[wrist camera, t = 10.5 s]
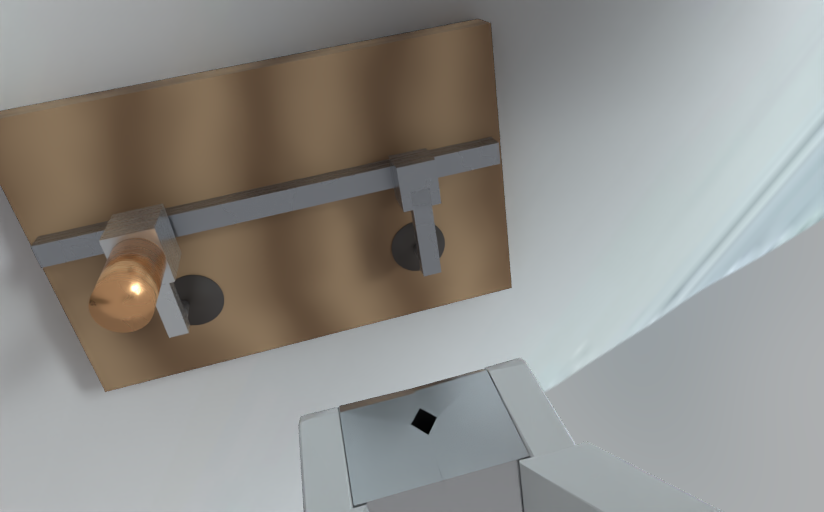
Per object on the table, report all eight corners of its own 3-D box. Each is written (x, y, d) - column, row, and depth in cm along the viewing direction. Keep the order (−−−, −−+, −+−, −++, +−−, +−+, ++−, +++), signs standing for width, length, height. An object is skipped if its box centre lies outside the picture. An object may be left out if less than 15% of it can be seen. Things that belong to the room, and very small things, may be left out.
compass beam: (490, 126, 34) (511, 142, 31) (499, 231, 37) (519, 255, 34) (32, 225, 30) (10, 254, 28) (85, 331, 33) (70, 367, 31)
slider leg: (165, 194, 31) (140, 269, 24) (206, 305, 34) (194, 400, 27) (117, 205, 31) (76, 284, 23) (163, 316, 34) (139, 415, 27)
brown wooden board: (478, 18, 33) (491, 23, 31) (500, 273, 40) (512, 288, 39) (-14, 113, 29) (-32, 124, 28) (112, 371, 37) (105, 392, 35)
